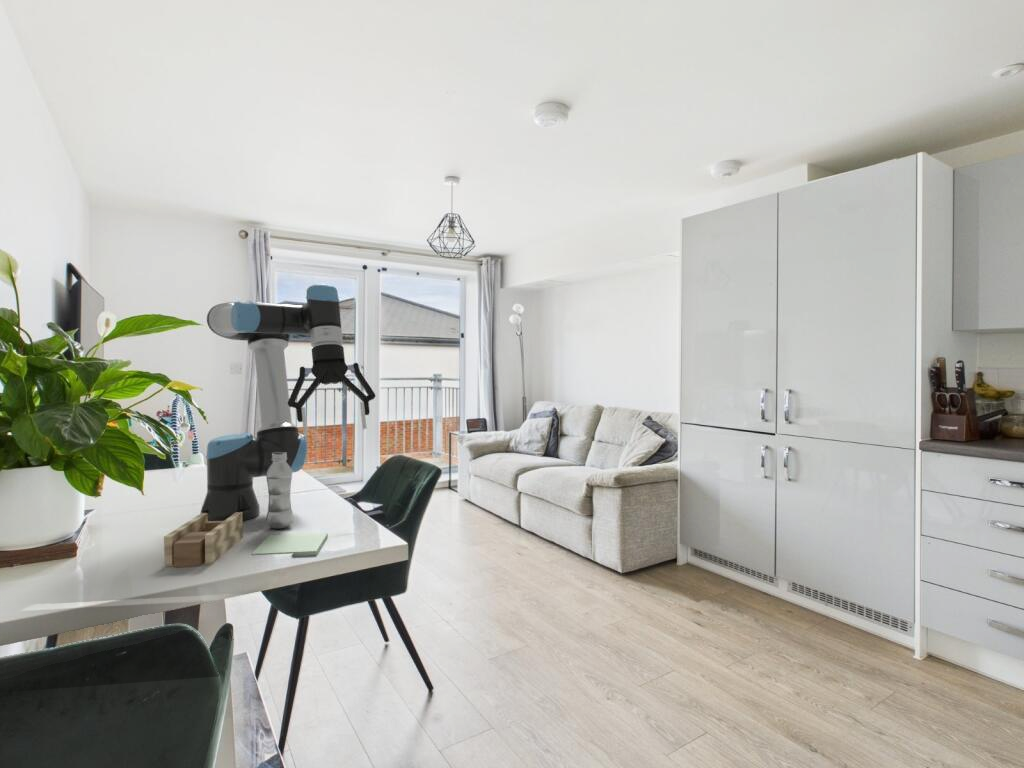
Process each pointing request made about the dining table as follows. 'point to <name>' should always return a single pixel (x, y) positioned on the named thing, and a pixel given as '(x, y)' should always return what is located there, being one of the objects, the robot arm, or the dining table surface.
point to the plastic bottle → (279, 492)
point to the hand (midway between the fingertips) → (335, 432)
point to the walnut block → (190, 550)
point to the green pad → (292, 544)
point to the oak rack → (207, 536)
